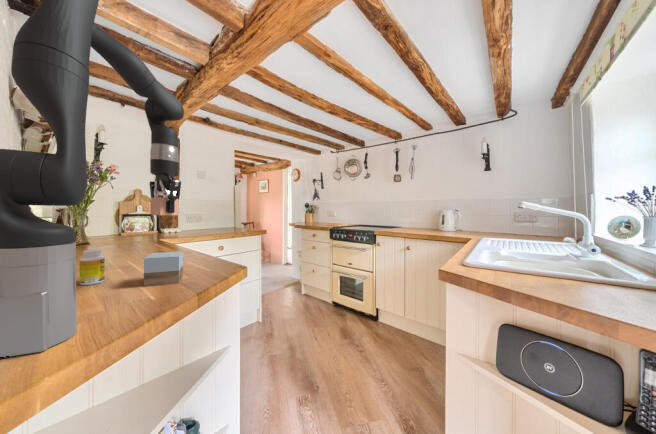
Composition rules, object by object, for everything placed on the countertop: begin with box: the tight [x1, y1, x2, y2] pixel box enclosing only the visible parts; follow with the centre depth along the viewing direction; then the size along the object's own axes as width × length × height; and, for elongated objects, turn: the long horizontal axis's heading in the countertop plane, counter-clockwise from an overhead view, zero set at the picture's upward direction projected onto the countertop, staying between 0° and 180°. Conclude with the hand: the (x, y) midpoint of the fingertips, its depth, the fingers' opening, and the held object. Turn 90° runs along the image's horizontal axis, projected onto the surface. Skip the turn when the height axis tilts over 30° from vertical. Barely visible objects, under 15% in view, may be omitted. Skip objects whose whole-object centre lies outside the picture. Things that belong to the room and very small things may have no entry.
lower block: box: [143, 265, 184, 288], centre depth 76 cm, size 9×9×4 cm
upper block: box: [143, 251, 185, 274], centre depth 76 cm, size 9×9×4 cm
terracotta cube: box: [150, 197, 180, 216], centre depth 75 cm, size 6×6×6 cm
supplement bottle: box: [78, 249, 106, 286], centre depth 72 cm, size 6×6×10 cm
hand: (164, 212), depth 75 cm, fingers closed on terracotta cube, 5 cm apart
